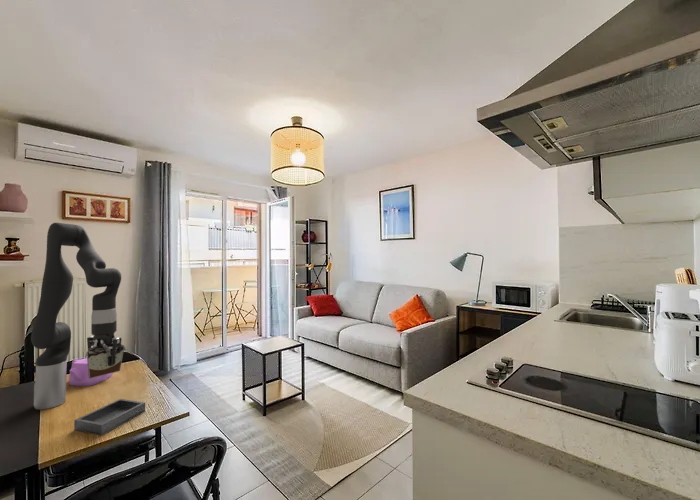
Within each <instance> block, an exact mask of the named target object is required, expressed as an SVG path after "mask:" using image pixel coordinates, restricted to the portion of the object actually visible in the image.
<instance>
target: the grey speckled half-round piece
mask: <svg viewBox="0 0 700 500" xmlns="http://www.w3.org/2000/svg"><path fill="white" fill-rule="evenodd" d="M97 347H98V346H97ZM110 347H112V346H110ZM108 348H109V347H108ZM110 351H111V352H112V350H110ZM116 351H117V348H116ZM125 351H126V347H125V345H124V344H122V343H121V352H120V353H118V354H116V359H115V361H116V362H115V364H114V365H112V366H108V353H107V351H105V350H104V348H97V349H94V347H93V346H91V348H90V349H89V350H88V349H87V351H86V353H85V356H84V358H85V359H86V358H87V361H88V373H89V379H91V378H95V377H99V376H103V375H107V374H111V373H113V374H114V373H117V372H118V373H119V372H120V371H121V369H122V361H123V358H124V357H123V356H124V353H125Z"/></svg>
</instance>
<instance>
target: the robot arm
mask: <svg viewBox="0 0 700 500" xmlns="http://www.w3.org/2000/svg"><path fill="white" fill-rule="evenodd" d="M46 234H47V236H46V237H47V238H46V251H45V252H46V255H45V265H44V269H43V270H44V271H43V276H42V282H41V288H40V290H41V291H40V297H39V303H38V309H37V313H36V317H35V320H34V323H33V324H34V325H33V327H32V331H31V334H30V335H31V336H30V340H31V343H32V346H33V348H35V349H38V350H43V349H44V351H43V352H42V353H41V354H40V355H39V356H37V358H36V361H35V382H34V385H33V407H34V409H35V410H47V409H51V408H56V407H58V406H60V405H62V404H64V403H66V398H67V393H66V392H67V371H68V370H67V369H68V368H67V367H68V364H67V363H68V356H69V354H70V351H71V342H72V331H71V327H70V326H69V325H68V324H67V323H66V322H62V321H58V322H57V319H58V316H59V313H60V312H61V310H62V308H63V306H64V305H65V303H67V301H68V299H69V298H70V296H71V294H72V291H73V283H74V276H73V273H72V272H71V269H70V268H69V267H68V266H67V264H66V262H65V260H64V258H63V256H62V246H65V247H77V248H78V251H77V252H76V254H75V257H76V259H75V260H76V262H77V264H78V265H79V267H80V268H81V269H82V270H83V272H84V275H85V282H86V285H88V286H89V287H91V288H94V289H95V288H105V289H104V291H102V292H100V293H96V294H94V295H93V296H92V299H91V300H92V305H91V306H92V311H91V312H92V313H91V317H90V318H91V322H90V323H91V328H90V329H91V332H90V333H91V335H92V336H88V337H87V338H86V340H87V341H86V342H87V345H86V346H87V351H88V350H89V349H90V348H92V347H94V349H97V348H104V350H105V351H107V353H108V366H112V365H114V364H115V362H116V361H115V359H116V354H118V353H120V352H121V344H122V337H115V333H116V332H117V331H118V329H117V325H118V324H117V322H118V321H117V320H118V319H117V317H118V316H117V315H118V314H117V309H116V308H117V304H116V303H117V302H116V300H117V294H118V290H119V288H120V285H121V282H122V273H121V272H120V270H119V269H118V268H114V267H113V268H111V267H110V268H106V267H107V264H106V261H104V259H103V258H102V257H101V256H100V254H98V252H97V251H96V248H94V245H93V243H92V241H91V239H90V237H89V235H88V233H87V231H86V230H85V229H84V227H83V226H81V225H79V224H78V225H77V224H73V223H72V224H71V223H64V222H53V223H51V224H50V225H49V227H48V230H47V233H46ZM97 346H98V347H97ZM110 346H112V347H110ZM108 347H109V348H108ZM116 348H117V351H116ZM110 350H112V352H111V351H110Z"/></svg>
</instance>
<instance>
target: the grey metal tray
mask: <svg viewBox="0 0 700 500" xmlns="http://www.w3.org/2000/svg"><path fill="white" fill-rule="evenodd" d="M144 412H146V402H144V401H138V400H131V399H124V398H119V399H116V400H115V401H112V402H110V403H108V404H106V405H104V406H101V407H100V408H98V409H95V410H93V411H90V412H89V413H87V414H85V415H82V416H81V417H78V418H76V419H74V421H73V422H74V424H73V425H74V427H73V428H74V429H73V430H74V431H78V432H82V433H89V434H93V435H96V436H97V435H98V436H103V435H105V434H107V433H108V432H111V431H112V430H114V429H116V428H118V427H119V426H122V425H123V424H125V423H127V422H128V421H130V420H132V419H134V418H135V417H136V418H137V416H139V415H142V414H143V413H144Z"/></svg>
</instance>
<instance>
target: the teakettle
mask: <svg viewBox="0 0 700 500" xmlns="http://www.w3.org/2000/svg"><path fill="white" fill-rule="evenodd" d="M113 374H114V373H111V374H107V375H103V376H99V377H95V378H91V379H89V373H88V361H87V357H86V359H85V357H84V358H80V359H78V358H77V359H73V360H72V362H71V368H70V369H69V377H68V383H69V385H70V386H79V387H81V386H82V387H84V386H85V387H89V386H94V385H96V384H98V383H101V382H103V381H106V380H107V379H109V378H111V377H112V376H113Z"/></svg>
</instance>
